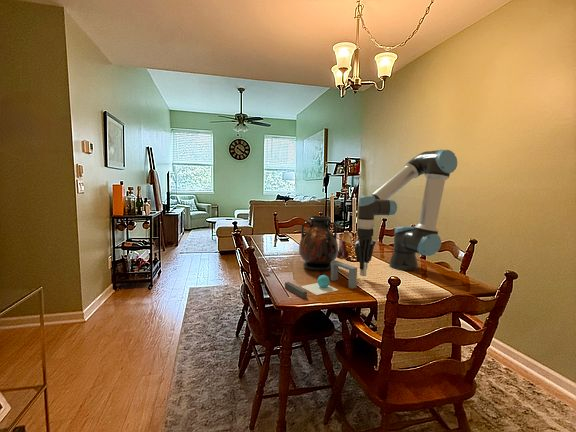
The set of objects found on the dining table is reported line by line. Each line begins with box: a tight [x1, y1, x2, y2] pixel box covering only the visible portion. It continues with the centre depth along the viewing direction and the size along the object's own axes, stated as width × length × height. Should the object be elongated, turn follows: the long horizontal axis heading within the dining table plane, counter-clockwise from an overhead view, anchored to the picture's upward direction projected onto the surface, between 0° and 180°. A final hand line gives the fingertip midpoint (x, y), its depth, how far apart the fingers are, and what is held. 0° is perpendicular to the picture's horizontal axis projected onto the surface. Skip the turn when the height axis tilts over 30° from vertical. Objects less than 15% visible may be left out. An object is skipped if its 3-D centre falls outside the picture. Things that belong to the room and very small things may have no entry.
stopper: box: [284, 281, 308, 299], centre depth 132 cm, size 2×14×2 cm, turn 32°
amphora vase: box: [298, 215, 339, 272], centre depth 169 cm, size 22×22×28 cm
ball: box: [316, 274, 331, 288], centre depth 139 cm, size 6×6×6 cm
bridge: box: [329, 259, 358, 289], centre depth 145 cm, size 3×14×9 cm, turn 32°
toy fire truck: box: [336, 238, 350, 259], centre depth 197 cm, size 7×12×10 cm, turn 3°
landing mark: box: [299, 282, 339, 296], centre depth 138 cm, size 12×12×1 cm
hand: (363, 275), depth 152 cm, fingers closed
